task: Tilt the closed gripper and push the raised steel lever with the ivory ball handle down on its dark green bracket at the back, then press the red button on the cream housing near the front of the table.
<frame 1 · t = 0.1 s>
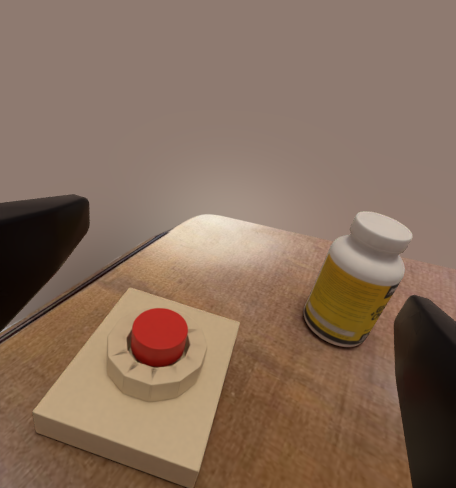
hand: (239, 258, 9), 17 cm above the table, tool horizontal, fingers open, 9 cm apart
pill bottle: (332, 325, 34), on the table
button box: (153, 377, 25), on the table
button: (159, 336, 23), point 4 cm above the table, slide at 0.1 cm
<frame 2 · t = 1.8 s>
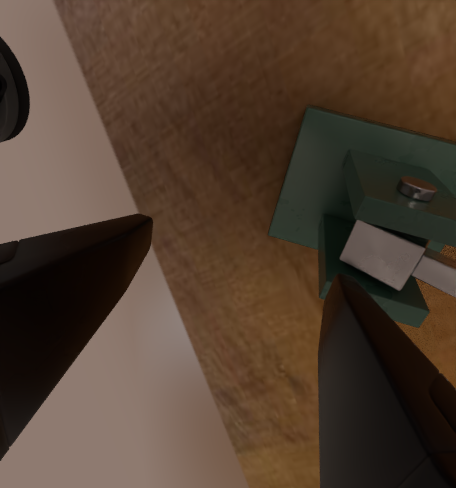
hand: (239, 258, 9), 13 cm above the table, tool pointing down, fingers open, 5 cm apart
bracket: (367, 193, 21), on the table
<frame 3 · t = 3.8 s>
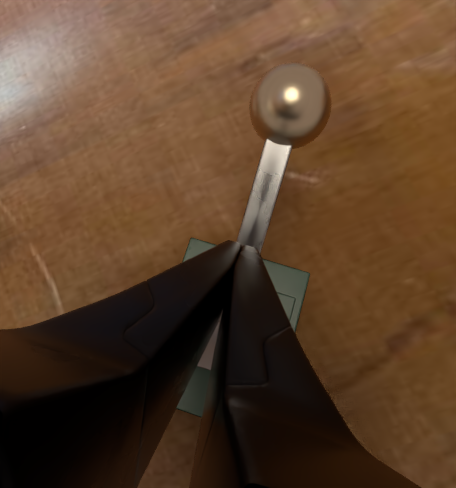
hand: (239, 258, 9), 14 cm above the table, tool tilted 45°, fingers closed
bracket: (226, 331, 22), on the table
lever: (255, 224, 15), point 9 cm above the table, hinge at 25.0°
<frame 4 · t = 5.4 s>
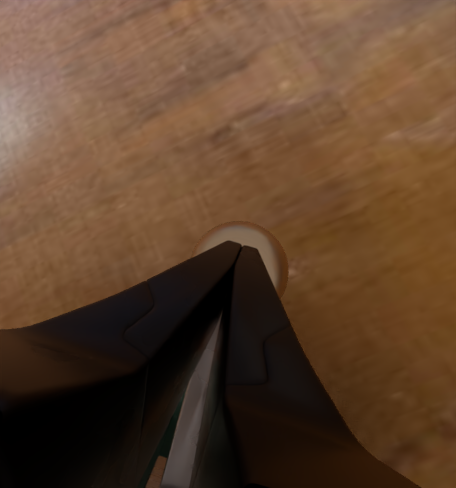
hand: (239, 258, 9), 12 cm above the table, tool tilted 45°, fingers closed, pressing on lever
bracket: (188, 457, 19), on the table
lever: (200, 401, 12), point 9 cm above the table, hinge at 24.3°, touching gripper
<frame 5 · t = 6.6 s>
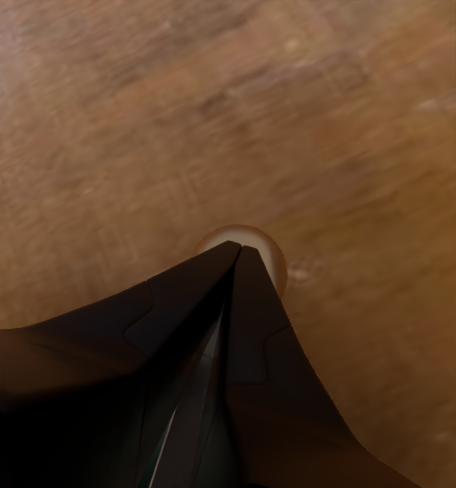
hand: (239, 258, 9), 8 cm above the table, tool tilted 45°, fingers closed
lever: (187, 436, 10), point 6 cm above the table, hinge at -3.2°
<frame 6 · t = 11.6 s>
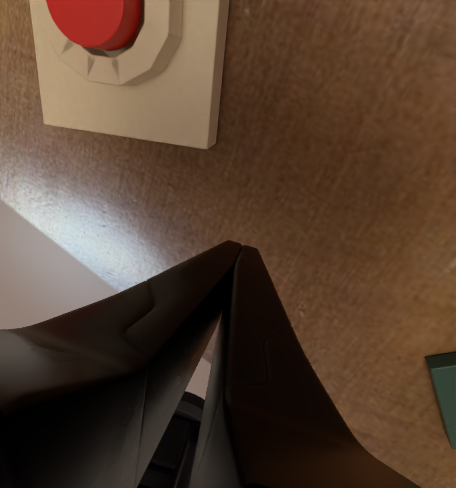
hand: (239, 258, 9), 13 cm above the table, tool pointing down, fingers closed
button box: (138, 19, 19), on the table
button: (94, 1, 15), point 4 cm above the table, slide at 0.1 cm
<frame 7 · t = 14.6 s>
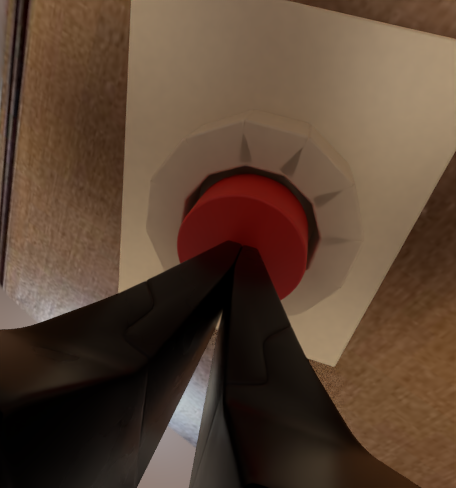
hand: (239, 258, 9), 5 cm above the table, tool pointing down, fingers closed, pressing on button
button box: (264, 189, 14), on the table
button: (244, 241, 10), point 4 cm above the table, slide at 0.0 cm, touching gripper
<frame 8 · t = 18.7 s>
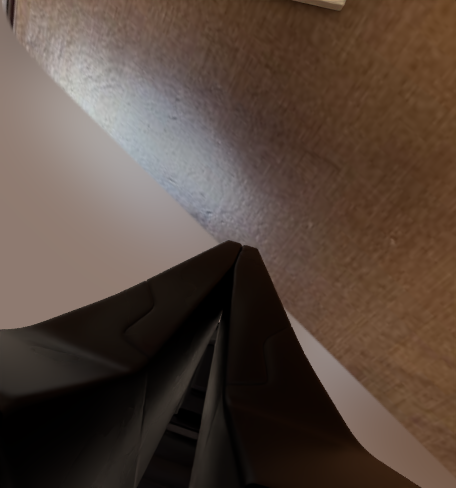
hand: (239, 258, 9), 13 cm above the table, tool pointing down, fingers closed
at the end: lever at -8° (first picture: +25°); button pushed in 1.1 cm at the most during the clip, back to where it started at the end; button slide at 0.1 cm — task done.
